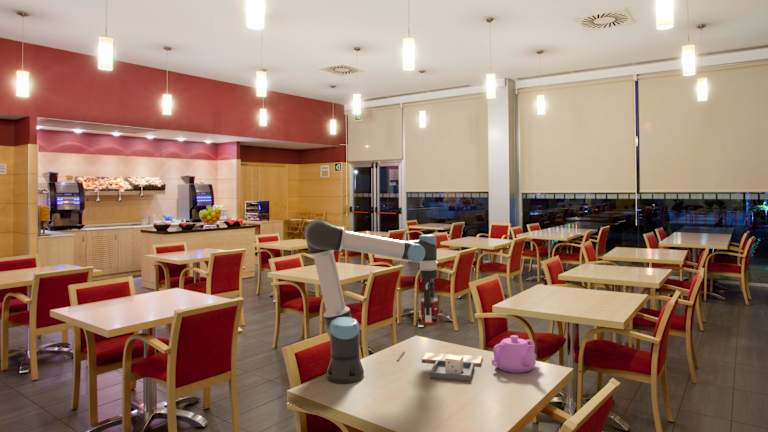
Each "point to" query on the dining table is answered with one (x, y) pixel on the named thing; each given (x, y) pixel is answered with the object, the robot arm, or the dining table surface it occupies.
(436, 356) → the board
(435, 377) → the dice tray
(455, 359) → the cream cube
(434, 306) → the canned food
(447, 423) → the dining table surface
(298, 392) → the dining table surface
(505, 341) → the teapot
